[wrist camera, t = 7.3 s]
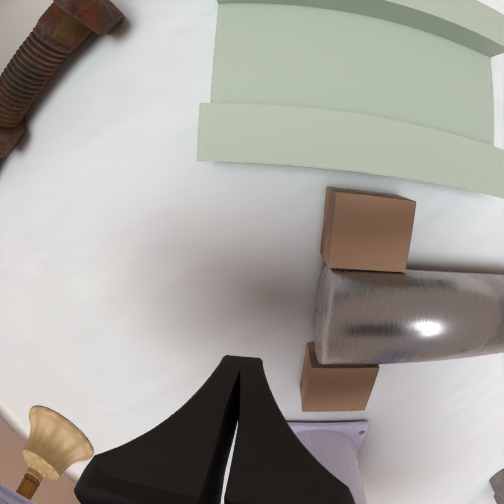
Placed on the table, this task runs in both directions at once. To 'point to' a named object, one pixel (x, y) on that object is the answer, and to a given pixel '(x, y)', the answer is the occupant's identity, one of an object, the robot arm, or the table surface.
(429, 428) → the table surface
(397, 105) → the pale green channelled slab
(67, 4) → the bolt
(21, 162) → the table surface
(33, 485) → the hand bell
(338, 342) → the axle
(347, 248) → the bearing block
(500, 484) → the hip flask
